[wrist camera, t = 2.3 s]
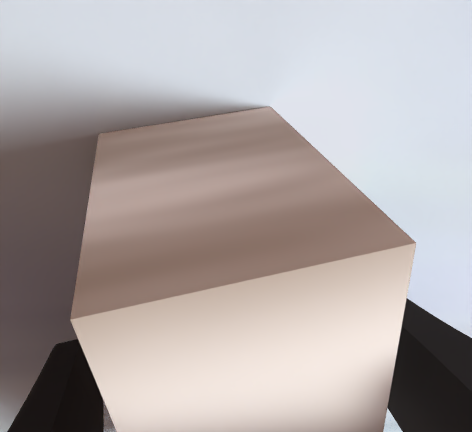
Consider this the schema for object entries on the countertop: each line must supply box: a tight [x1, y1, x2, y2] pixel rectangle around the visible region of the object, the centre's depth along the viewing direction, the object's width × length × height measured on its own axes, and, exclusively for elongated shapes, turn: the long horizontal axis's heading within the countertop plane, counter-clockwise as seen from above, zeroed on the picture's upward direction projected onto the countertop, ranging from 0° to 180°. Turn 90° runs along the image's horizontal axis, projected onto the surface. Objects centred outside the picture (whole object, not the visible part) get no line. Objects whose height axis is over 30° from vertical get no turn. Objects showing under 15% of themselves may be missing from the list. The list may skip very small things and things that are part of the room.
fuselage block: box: [70, 107, 416, 432], centre depth 10 cm, size 11×4×6 cm, turn 5°
